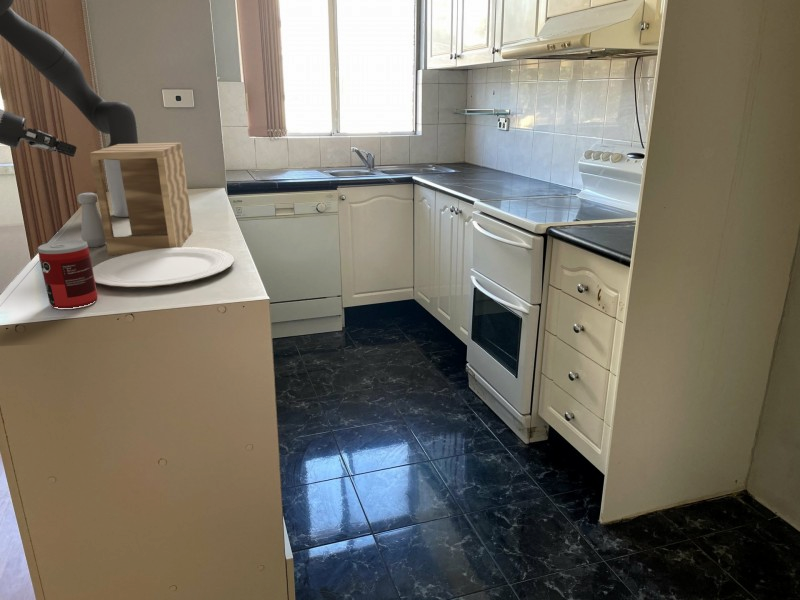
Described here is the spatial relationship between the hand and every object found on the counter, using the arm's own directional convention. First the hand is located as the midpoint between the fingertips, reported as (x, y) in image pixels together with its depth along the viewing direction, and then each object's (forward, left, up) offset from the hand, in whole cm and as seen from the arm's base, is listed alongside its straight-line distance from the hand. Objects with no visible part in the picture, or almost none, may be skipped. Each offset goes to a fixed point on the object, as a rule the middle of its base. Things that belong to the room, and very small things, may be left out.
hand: (75, 152), depth 148 cm
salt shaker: (+6, +3, -22) cm, 23 cm away
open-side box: (+6, +17, -22) cm, 29 cm away
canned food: (+51, +13, -22) cm, 57 cm away
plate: (+33, +25, -23) cm, 47 cm away
